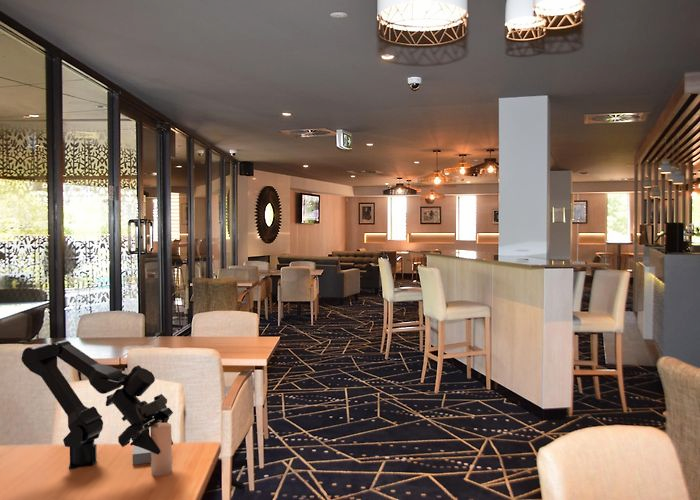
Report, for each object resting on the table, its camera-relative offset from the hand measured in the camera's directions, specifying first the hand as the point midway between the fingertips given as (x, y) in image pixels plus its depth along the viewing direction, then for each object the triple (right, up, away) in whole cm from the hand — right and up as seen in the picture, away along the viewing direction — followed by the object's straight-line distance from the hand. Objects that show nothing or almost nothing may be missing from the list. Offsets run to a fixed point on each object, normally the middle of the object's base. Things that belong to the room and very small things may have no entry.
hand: (165, 449), depth 163 cm
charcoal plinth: (-8, -6, +12) cm, 16 cm away
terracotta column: (-1, -7, +1) cm, 7 cm away
